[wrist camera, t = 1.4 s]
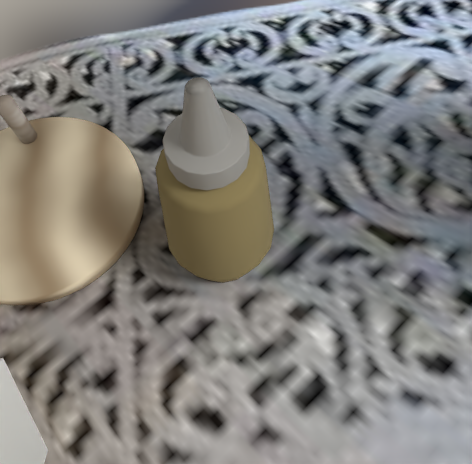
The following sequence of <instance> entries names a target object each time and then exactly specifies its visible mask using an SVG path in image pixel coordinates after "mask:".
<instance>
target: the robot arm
mask: <svg viewBox="0 0 472 464" xmlns="http://www.w3.org/2000/svg"><path fill="white" fill-rule="evenodd" d="M47 452H48V449H47V447H46V445H45V443H44V441H43V439H42V437H41V435H40V433H39V431H38V429H37V426H36V424H35V422H34V420H33V418H32V416H31V414H30V412H29V410H28V408H27V406H26V404H25V402H24V400H23V398H22V396H21V394H20V392H19V390H18V388H17V386H16V383H15V381H14V379H13V377H12V375H11V373H10V371H9V369H8V367H7V365H6V363H5V361H4V359H3V358H0V464H44V463H45V459H46V456H47Z"/></svg>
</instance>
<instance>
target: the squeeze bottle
mask: <svg viewBox="0 0 472 464" xmlns="http://www.w3.org/2000/svg"><path fill="white" fill-rule="evenodd" d="M163 146H164V149H163V150H162V151H161V154H160V157H159V159H158V162H157V165H156V168H155V169H156V176H157V184H158V190H159V196H160V201H161V206H162V212H163V217H164V223H165V228H166V234H167V239H168V245H169V249H170V251H171V252H172V254H173V256H174V257H175V259H176V260H177V262H178V263H179V265H180V266H182V267H183V268H185V269H186V270H188V271H189V272H191V273H193V274H194V275H196V276H197V277H200V278H203V279H207V280H211V281H216V282H222V283H223V282H228V281H233V280H237V279H239V278H240V277H242V276H243V275H245V274H246V273H248V272H249V271H251V270H252V269H254V268H255V267H256V266H258V265H259V264H260V262H261V261H262V259H263V258H264V256H265V255H266V254H267V252H268V251H269V249H270V248H271V242H272V237H273V232H274V226H273V218H272V211H271V203H270V196H269V188H268V181H267V173H266V166H265V162H264V159H263V155H262V151H261V149H260V148H259V146H258V145H257V144H256V143H255V142H254V141H253V140H252V138H251V137H250V136H249V135H248V132H247V128H246V125H245V124H244V123H243V122H242V120H241V119H240V118H239V117H238V116H237V115H236V114H234V113H232V112H230V111H228V110H226V109H224V108H220V107H219V104H218V102H217V100H216V97H215V95H214V93H213V90H212V88H211V86H210V83H209V82H208V81H207V80H206V79H204V78H193V79H191V80H189V81H188V82H187V83H186V85H185V91H184V103H183V114H181V115H179V116H177V117H176V118H175V119H174V120H173V122H172V123H171V124H170V125H169V126H168V127H167V129H166V132H165V135H164V138H163Z"/></svg>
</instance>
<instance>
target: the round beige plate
mask: <svg viewBox="0 0 472 464" xmlns="http://www.w3.org/2000/svg"><path fill="white" fill-rule="evenodd" d="M0 115H1V116H2V117H3V118H4V120H5V121H6V122H7V124H8V125H9V126H10V127H8V128H6V129H3V130H1V131H0V304H6V305H32V304H41V303H45V302H49V301H53V300H56V299H59V298H62V297H65V296H68V295H70V294H72V293H74V292H76V291H78V290H80V289H82V288H84V287H85V286H87V285H89V284H90V283H92V282H93V281H95V280H96V279H98V278H99V277H100V276H101V275H103V274H104V273H105V272H106V271H108V270H109V269H110V268H111V267H112V266H113V265H114V264H115V263H116V262H117V260H118V259H119V258H120V257H121V256H122V254H123V253H124V252H125V250H126V249H127V248H128V246H129V244H130V243H131V241H132V239H133V238H134V236H135V234H136V231H137V229H138V227H139V224H140V221H141V217H142V214H143V207H144V186H143V181H142V177H141V174H140V171H139V169H138V166H137V164H136V161H135V159H134V157H133V155H132V154H131V152H130V150H129V149H128V148H127V146H126V145H125V144H124V142H123V141H121V140H120V139H119V138H118V137H117V136H116V135H115V134H113V133H112V132H110V131H109V130H108V129H106V128H104V127H102V126H100V125H98V124H95V123H92V122H89V121H86V120H81V119H77V118H68V117H49V118H39V119H35V120H30V121H28V120H27V118H26V117H25V115H24V114H23V112H22V111H21V109H20V108H19V106H18V105H17V104H16V102H15V101H14V99H13V98H12V97H11V96H10V95H2V96H0Z"/></svg>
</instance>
